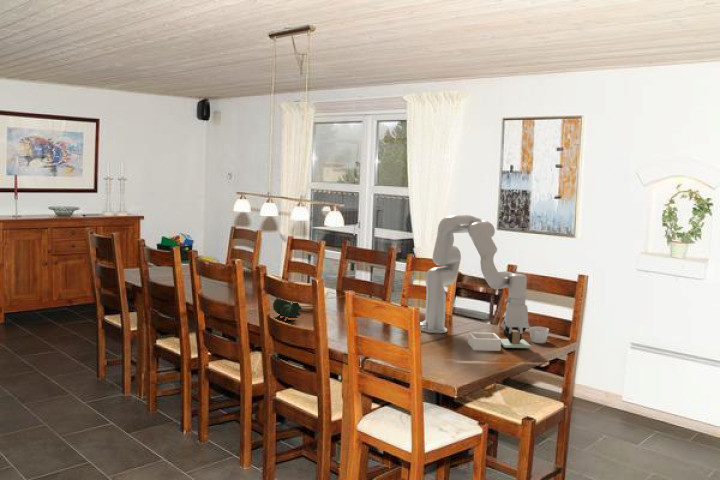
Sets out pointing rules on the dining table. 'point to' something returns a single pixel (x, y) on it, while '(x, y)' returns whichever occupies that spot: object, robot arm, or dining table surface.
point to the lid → (515, 341)
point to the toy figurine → (286, 308)
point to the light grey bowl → (538, 334)
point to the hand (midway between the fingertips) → (514, 341)
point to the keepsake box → (484, 341)
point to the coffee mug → (507, 327)
